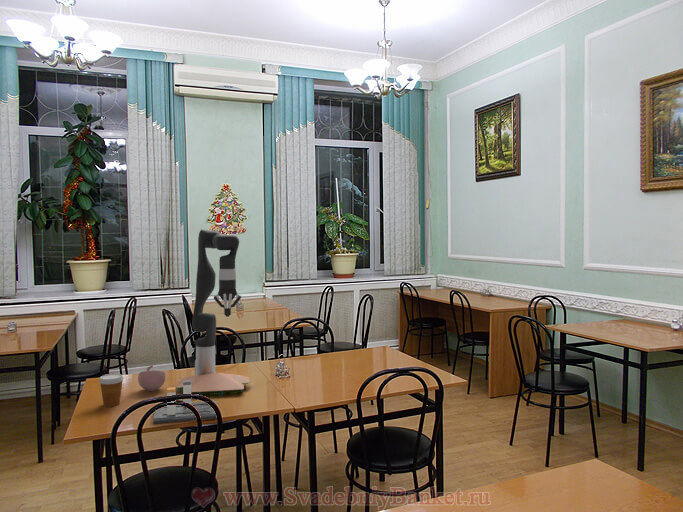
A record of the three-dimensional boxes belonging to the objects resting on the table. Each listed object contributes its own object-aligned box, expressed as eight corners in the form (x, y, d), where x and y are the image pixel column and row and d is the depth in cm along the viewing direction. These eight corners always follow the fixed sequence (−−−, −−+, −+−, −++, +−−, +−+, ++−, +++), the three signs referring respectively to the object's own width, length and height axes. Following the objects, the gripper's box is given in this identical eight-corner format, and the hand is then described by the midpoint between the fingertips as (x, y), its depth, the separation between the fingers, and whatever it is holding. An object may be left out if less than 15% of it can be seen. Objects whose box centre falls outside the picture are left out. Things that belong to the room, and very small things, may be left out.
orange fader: (175, 414, 201) (175, 387, 200) (175, 417, 198) (175, 389, 197) (167, 415, 200) (167, 387, 200) (167, 417, 197) (167, 389, 197)
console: (153, 423, 194) (153, 418, 194) (157, 410, 209) (157, 405, 209) (217, 418, 200) (217, 412, 200) (217, 405, 215) (217, 400, 215)
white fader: (191, 406, 211) (191, 379, 210) (191, 408, 208) (190, 381, 207) (183, 406, 210) (183, 380, 210) (183, 409, 207) (183, 382, 207)
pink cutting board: (250, 395, 230) (250, 378, 229) (173, 400, 223) (173, 381, 223) (249, 381, 252) (249, 365, 252) (179, 385, 246) (179, 368, 245)
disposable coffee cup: (99, 409, 210) (99, 380, 209) (98, 402, 218) (98, 375, 218) (124, 406, 214) (124, 377, 214) (123, 399, 223) (122, 372, 222)
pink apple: (166, 385, 244) (165, 361, 243) (165, 392, 232) (165, 368, 232) (139, 387, 240) (138, 363, 240) (137, 395, 229) (136, 370, 228)
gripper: (212, 279, 227) (212, 318, 227) (242, 279, 230) (242, 317, 231) (212, 278, 234) (212, 315, 235) (241, 277, 237) (241, 314, 238)
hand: (227, 316), depth 233 cm, fingers closed
